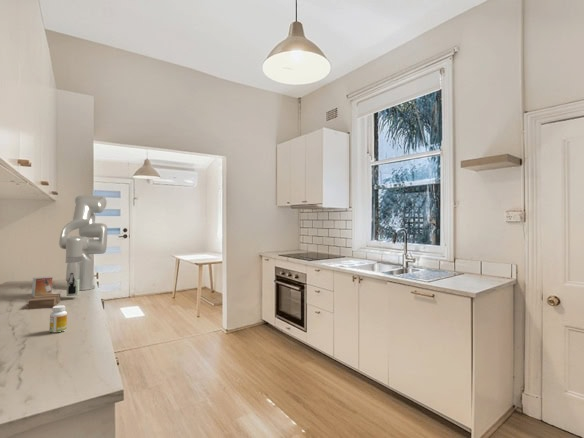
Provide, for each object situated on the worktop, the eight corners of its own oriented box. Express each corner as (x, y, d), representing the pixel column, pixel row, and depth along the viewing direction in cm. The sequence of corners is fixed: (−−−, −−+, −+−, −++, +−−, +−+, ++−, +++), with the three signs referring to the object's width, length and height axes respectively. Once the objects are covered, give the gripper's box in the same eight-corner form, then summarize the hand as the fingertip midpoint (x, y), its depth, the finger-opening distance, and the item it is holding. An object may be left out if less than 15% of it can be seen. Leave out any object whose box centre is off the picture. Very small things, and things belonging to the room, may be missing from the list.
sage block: (68, 294, 177) (68, 279, 177) (79, 293, 179) (79, 279, 179) (66, 296, 172) (66, 281, 172) (77, 295, 174) (77, 281, 174)
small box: (34, 297, 176) (35, 278, 176) (31, 296, 180) (32, 277, 180) (52, 295, 183) (52, 277, 183) (48, 294, 186) (49, 276, 186)
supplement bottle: (69, 328, 127) (70, 304, 127) (62, 333, 122) (63, 308, 122) (53, 329, 126) (54, 304, 126) (46, 334, 121) (47, 308, 121)
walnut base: (36, 302, 166) (37, 295, 166) (60, 301, 170) (60, 293, 170) (28, 309, 153) (28, 301, 153) (53, 307, 157) (53, 299, 157)
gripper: (69, 257, 182) (68, 289, 182) (62, 262, 166) (61, 296, 166) (84, 257, 185) (83, 288, 185) (79, 261, 169) (78, 295, 170)
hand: (72, 292), depth 176 cm, fingers closed on sage block, 5 cm apart
